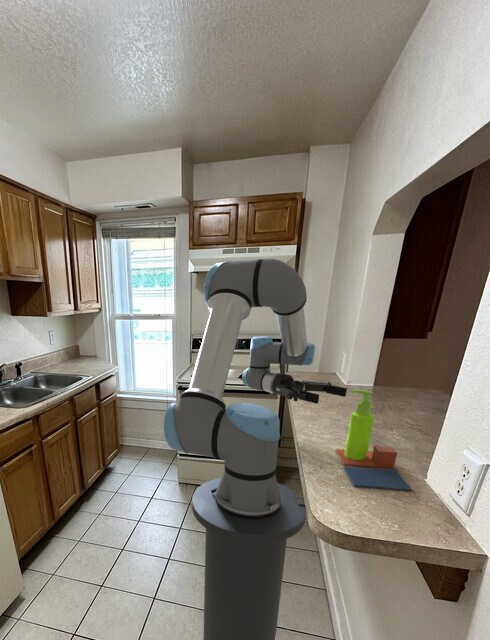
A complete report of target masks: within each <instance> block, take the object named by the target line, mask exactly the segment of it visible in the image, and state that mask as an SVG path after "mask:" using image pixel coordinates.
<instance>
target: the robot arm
mask: <svg viewBox="0 0 490 640" xmlns="http://www.w3.org/2000/svg"><path fill="white" fill-rule="evenodd" d="M203 285H204V289H203V298H204V299H203V300H204V303H205V304H206V306H207V309H208V311H209V313H210V314H209V318H208V320H207V324H206V328H205V330H204V334H203V338H202V342H201V345H200V348H199V352H198V356H197V358H196V362H195V366H194V369H193V373H192V376H191V380H190V383H189V385H188V386H189V387H188V389H187V390H184V391H183V392H181V394H180V396H179V400H178V402H173V403H170V404H169V405H168V406H167V408H166V410H165V413H164V417H163V432H164V438H165V441H166V443H167V445H168V446H169V447H170V448H171V449H172V450H174V451H178V452H183V453H184V454H193V455H198V456H203V457H208V458H209V457H210V458H214V459H219V460H223V461H224V467H223V473H222V475H221V477H220V478H221V480H220V482H219V485H218V487H217V488H216V489H213V490H211V493H214V492H216V503H217V505H218V506H219V508H221V509H222V510H223V511H225V512H226V513H228V514H230V515H233V516H236V517H240V518H245V519H262V518H267V517H270V516H272V515H274V514H276V513H277V512H278V511H279V509H280V506H281V495H280V491H279V488H278V484H277V483H278V481H277V480H278V479H277V475H276V473H277V472H276V471H277V462H278V451H279V441H280V438H281V433H280V431H281V430H280V429H281V427H280V424H281V422H280V421H281V420H280V418H279V415H278V414H277V413H276V412H274V411H273V410H272V409H270V408H267V407H266V406H262V405H260V404H255V403H249V402H243V403H242V402H235V403H230V404H228V406H227V404H226V402H225V401H224V399H223V395H224V391H225V388H226V384H227V380H228V377H229V373H230V368H231V365H232V360H233V357H234V353H235V351H236V347H237V342H238V339H239V334H240V330H241V328H242V327H241V326H242V322H243V321H244V320H246V319H247V318H248V317H249V316H250V313H251V311H252V308H270V310H271V311H272V313H273V314H275V316H276V321H277V325H278V329H279V334H280V338H281V342H279V341H273V337H272V336H265V335H259V336H258V335H257V336H254V337H251V340H250V348H249V366H248V367H247V368H246V369H245V370H244V371H243V374H242V376H241V378H242V379H241V380H242V384H243V385H244V386H246V387H248V388H250V389H253V390H258V391H263V392H267V393H269V394H270V395H273V394H274V395H276V396H277V395H278V396H282V397H284V398H286V399H288V400H290V401H291V400H293V402H298V400H301V401H304V402H309V403H313V404H319V401H320V394H318V393H319V392H320V393H322V392H323V393H326V394H330V395H334V396H337V397H346V396H347V391H348V388H347V387H344V386H343V387H342V386H339V385H338V386H337V385H334V384H332V382H330V381H327V382H324V381H323V382H322V381H311V380H304V379H302V380H301V381H300V380H294V377H293V376H292V375H290V374H287V373H281V372H278V371H271V370H270V369H271V364H275V365H291V366H300V367H301V366H311V365H312V364H313V362H314V359H315V351H316V345H315V344H313V343H310V342H308V339H307V330H306V329H307V327H306V317H305V308H304V307H305V306H306V303H307V299H308V298H307V297H308V296H307V288H306V285H305V283H304V281H303V279H302V277H301V276H300V274H299V273H298V272H297V271H296V270H295V269H294V268H293V267H292V266H290V265H289V264H288V263H286V262H284V261H283V260H281V259H277V258H273V257H272V258H271V257H269V258H268V257H267V258H259V259H245V260H244V259H243V260H242V259H241V260H226V261H222V262H216V263H215V264H213V265H212V266H211V267H210V269H209V270H208V271H207V274H206V276H205V280H204V284H203ZM315 392H318V393H315Z"/></svg>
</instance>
